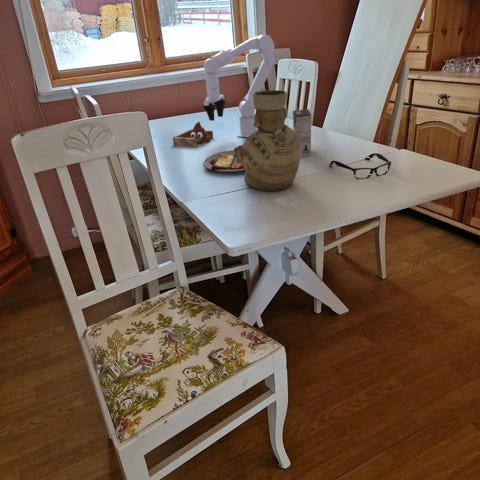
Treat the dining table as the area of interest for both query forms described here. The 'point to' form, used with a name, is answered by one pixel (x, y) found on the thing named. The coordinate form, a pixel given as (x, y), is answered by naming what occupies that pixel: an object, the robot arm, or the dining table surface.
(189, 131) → the brown u-shaped block
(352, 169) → the glasses
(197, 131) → the poop emoji
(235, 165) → the food plate
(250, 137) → the ceramic vessel
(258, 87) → the robot arm
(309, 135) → the coffee box
